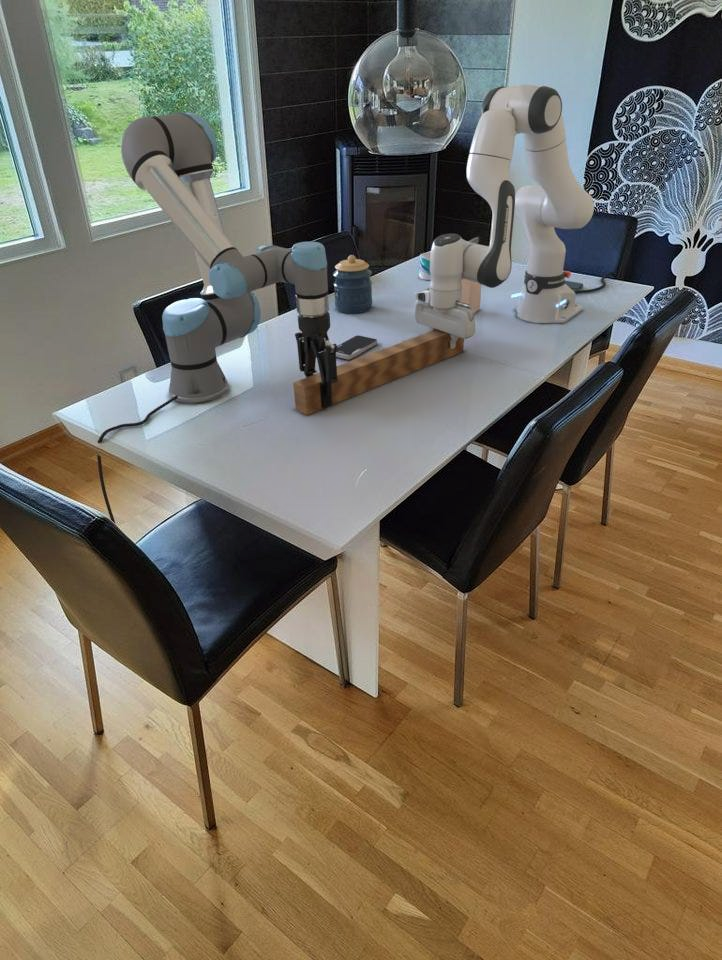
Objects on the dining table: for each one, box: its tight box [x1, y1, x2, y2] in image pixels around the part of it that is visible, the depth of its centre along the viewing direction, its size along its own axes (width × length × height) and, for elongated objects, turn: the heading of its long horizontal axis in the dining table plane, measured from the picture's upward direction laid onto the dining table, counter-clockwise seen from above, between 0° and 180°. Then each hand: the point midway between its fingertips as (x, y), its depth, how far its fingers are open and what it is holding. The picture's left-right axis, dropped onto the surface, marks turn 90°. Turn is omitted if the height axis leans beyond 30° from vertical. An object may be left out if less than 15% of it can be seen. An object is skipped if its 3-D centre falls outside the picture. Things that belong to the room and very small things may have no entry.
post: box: [292, 329, 465, 416], centre depth 179 cm, size 57×5×7 cm, turn 131°
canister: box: [332, 254, 373, 314], centre depth 225 cm, size 13×13×18 cm
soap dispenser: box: [461, 236, 482, 314], centre depth 219 cm, size 13×9×22 cm
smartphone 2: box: [565, 280, 584, 291], centre depth 241 cm, size 8×2×15 cm
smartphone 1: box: [336, 334, 378, 361], centre depth 198 cm, size 8×1×15 cm
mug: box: [418, 251, 431, 281], centre depth 257 cm, size 8×12×8 cm
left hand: (320, 402), depth 169 cm, fingers closed on post, 5 cm apart
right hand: (443, 345), depth 191 cm, fingers closed on post, 4 cm apart
